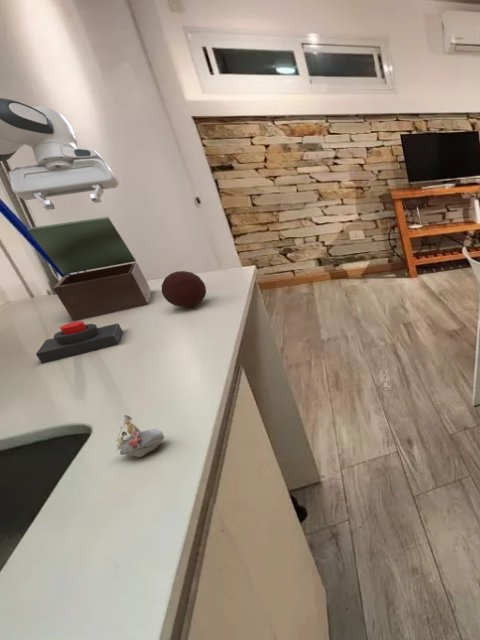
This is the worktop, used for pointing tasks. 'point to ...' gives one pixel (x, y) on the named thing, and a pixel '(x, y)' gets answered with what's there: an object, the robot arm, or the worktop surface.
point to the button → (73, 327)
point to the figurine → (138, 440)
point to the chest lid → (83, 245)
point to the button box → (79, 342)
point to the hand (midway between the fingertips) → (73, 204)
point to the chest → (103, 291)
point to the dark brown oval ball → (183, 289)
